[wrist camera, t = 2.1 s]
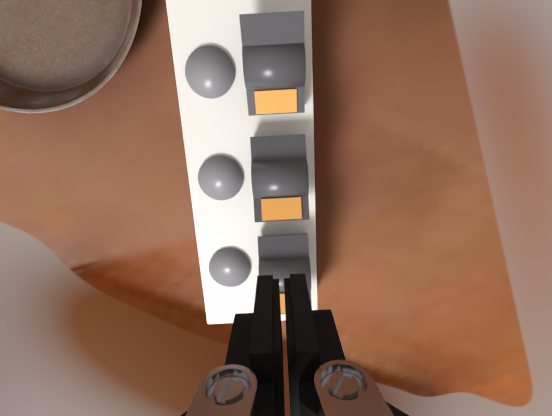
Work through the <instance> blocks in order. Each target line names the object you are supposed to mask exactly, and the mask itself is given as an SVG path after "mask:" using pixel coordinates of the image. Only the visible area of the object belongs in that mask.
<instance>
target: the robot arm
mask: <svg viewBox="0 0 552 416" xmlns="http://www.w3.org/2000/svg"><path fill="white" fill-rule="evenodd" d="M284 293H285V314H286V335H287V356H288V373H289V391H290V392H289V393H290V410H291V411H290V412H291V416H409V415H407V414H405V413H403V412H402V411H400V410H399V409H397V408H395V407H394V406H392V405H390V404H389V403H387V402H386V401H385V399H384V398H383V396H382V394H381V392H380V391H379V389H378V387H377V385H376V384H375V382H374V380H373V378H372V377H371V375H370V374H369V373H368V371H367V370H366V369H364V368H363V367H362V366H360V365H359V364H356V363H354V362H351V361H346V360H345V356H344V353H343V350H342V346H341V343H340V339H339V336H338V332H337V329H336V325H335V322H334V319H333V315H332V312H331V310H330V309H329V310H312V308H311V302H310V297H309V292H308V287H307V282H306V276H305V273H300V274H290V278H284ZM181 416H285V407H284V376H283V348H282V328H281V308H280V289H279V279H273V275H258V276H257V284H256V294H255V303H254V312H253V313H240V314H235V317H234V322H233V326H232V331H231V336H230V341H229V347H228V352H227V356H226V361H225V366H221V367H218V368H216V369H214V370H212V371H211V372H210V373H209V374H207V375H206V376H205V377H204V379H203V380H202V382H201V383H200V385H199V387H198V389H197V392H196V394H195V396H194V398H193V400H192V402H191V404H190V407H189V409H188V411H186V412H185V413H184V414H182V415H181Z"/></svg>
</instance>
